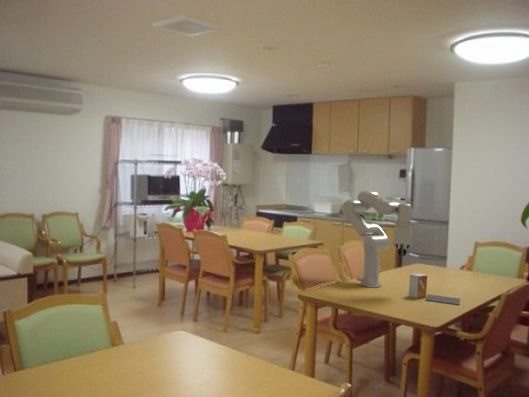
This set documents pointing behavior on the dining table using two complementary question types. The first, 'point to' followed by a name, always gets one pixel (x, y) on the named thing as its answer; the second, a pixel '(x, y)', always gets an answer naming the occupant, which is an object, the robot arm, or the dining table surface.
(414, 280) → the small box
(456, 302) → the mat
